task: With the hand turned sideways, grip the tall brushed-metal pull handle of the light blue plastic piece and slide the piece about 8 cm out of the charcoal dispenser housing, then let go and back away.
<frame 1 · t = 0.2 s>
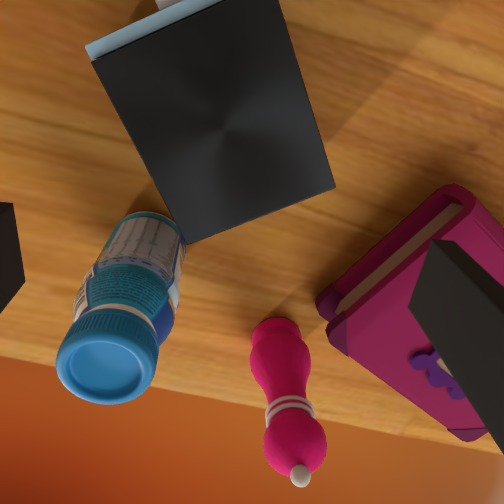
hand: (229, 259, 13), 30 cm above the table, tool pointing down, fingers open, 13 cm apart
housing: (223, 110, 40), on the table
book: (444, 306, 53), on the table
pepper mill: (275, 335, 54), on the table
beverage bottle: (149, 242, 47), on the table
light blue plastic piece: (204, 87, 29), point 11 cm above the table, slide at 0.0 cm
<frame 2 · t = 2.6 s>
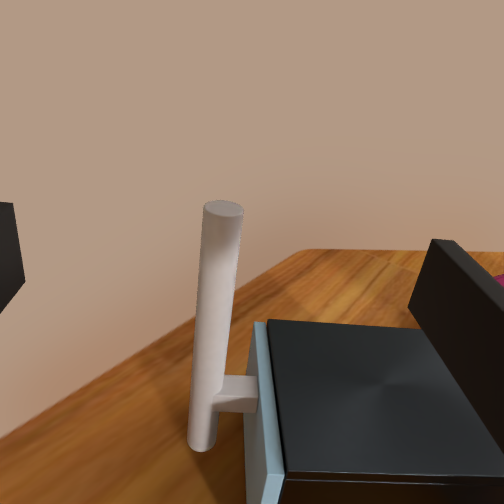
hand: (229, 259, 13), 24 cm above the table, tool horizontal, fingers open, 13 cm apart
housing: (351, 469, 34), on the table
light blue plastic piece: (340, 365, 29), point 11 cm above the table, slide at 0.0 cm
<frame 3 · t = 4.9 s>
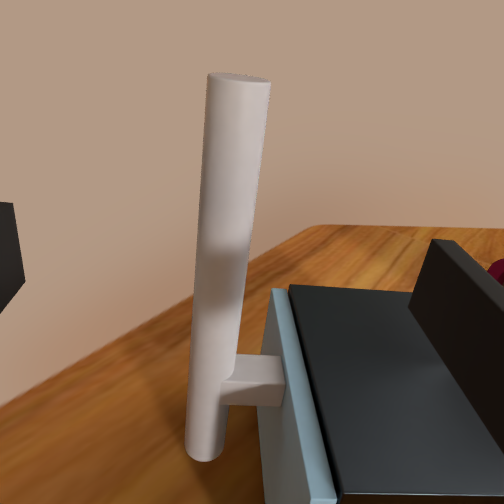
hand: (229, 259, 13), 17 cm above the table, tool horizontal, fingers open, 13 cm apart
housing: (403, 481, 26), on the table
light blue plastic piece: (400, 337, 20), point 11 cm above the table, slide at 0.0 cm
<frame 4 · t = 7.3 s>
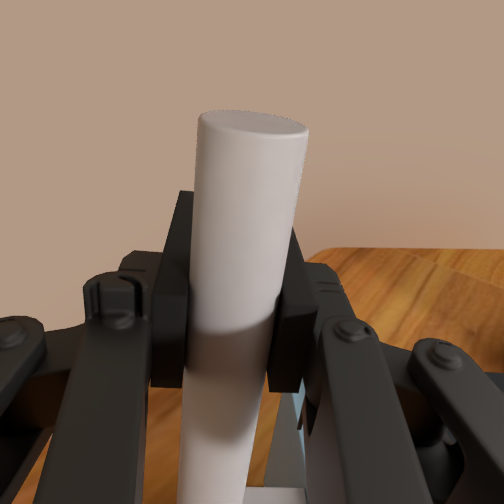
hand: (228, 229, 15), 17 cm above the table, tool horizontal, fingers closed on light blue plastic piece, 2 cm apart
light blue plastic piece: (478, 474, 14), point 11 cm above the table, slide at 0.0 cm, touching gripper
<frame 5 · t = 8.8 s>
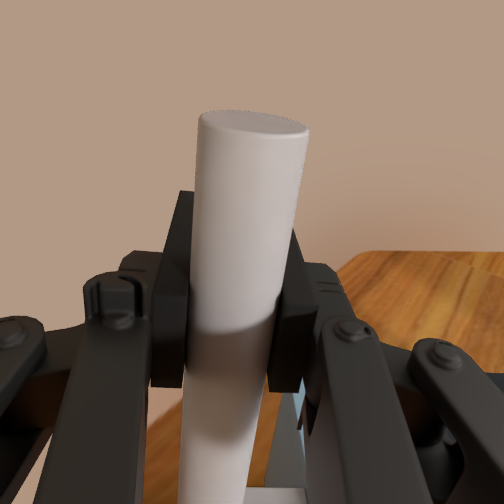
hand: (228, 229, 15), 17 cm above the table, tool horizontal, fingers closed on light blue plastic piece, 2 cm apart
light blue plastic piece: (478, 475, 14), point 11 cm above the table, slide at 4.8 cm, touching gripper
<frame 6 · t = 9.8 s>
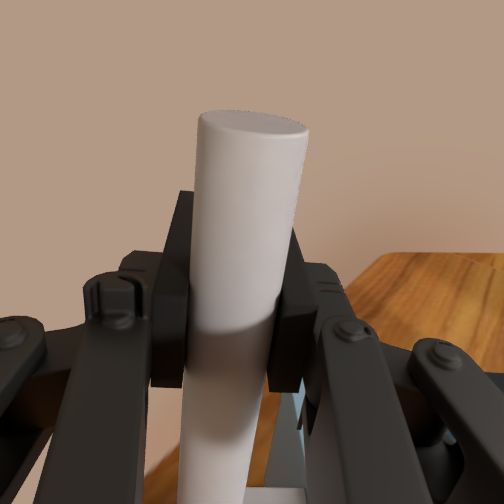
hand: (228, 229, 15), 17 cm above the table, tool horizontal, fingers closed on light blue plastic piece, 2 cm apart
light blue plastic piece: (478, 474, 14), point 11 cm above the table, slide at 8.0 cm, touching gripper
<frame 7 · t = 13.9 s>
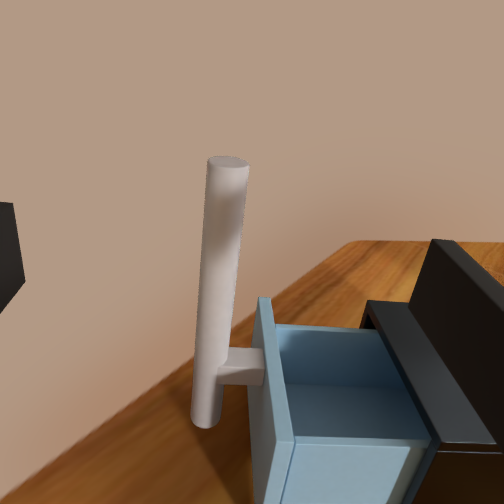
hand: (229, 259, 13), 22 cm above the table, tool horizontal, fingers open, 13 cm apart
housing: (455, 450, 34), on the table
light blue plastic piece: (349, 334, 28), point 11 cm above the table, slide at 8.0 cm
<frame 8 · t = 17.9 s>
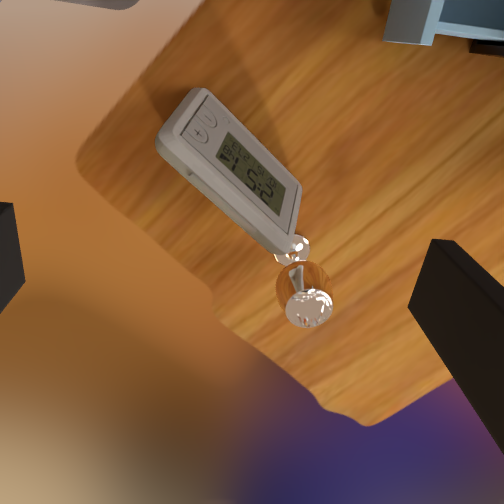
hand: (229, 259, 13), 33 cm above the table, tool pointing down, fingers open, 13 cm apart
digital clock: (237, 155, 45), on the table
wineglass: (291, 249, 51), on the table
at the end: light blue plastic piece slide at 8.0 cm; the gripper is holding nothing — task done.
